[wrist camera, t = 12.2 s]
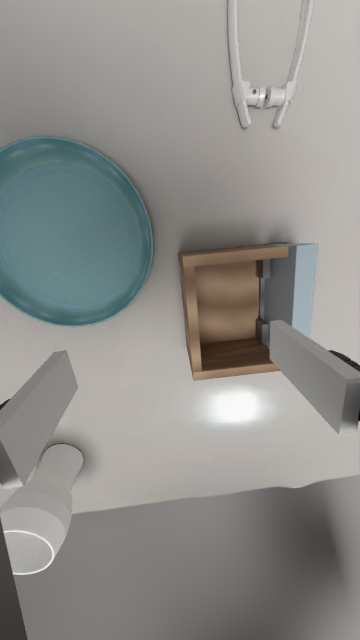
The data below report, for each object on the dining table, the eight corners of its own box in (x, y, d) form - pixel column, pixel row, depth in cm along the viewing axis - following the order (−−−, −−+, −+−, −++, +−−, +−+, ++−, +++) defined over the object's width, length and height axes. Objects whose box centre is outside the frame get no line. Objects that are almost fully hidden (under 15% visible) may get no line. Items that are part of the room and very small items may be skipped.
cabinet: (178, 253, 36) (182, 256, 26) (291, 241, 36) (335, 241, 26) (187, 348, 41) (193, 380, 31) (286, 337, 41) (322, 366, 31)
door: (265, 245, 35) (296, 245, 27) (281, 243, 35) (318, 243, 27) (263, 342, 40) (289, 368, 32) (277, 340, 40) (307, 366, 32)
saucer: (112, 344, 40) (108, 353, 37) (-37, 274, 35) (-57, 277, 32) (183, 210, 34) (185, 206, 31) (16, 103, 29) (-2, 87, 26)
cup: (97, 445, 46) (66, 536, 32) (83, 483, 49) (48, 582, 35) (42, 431, 44) (-17, 520, 30) (30, 471, 47) (-29, 570, 33)
